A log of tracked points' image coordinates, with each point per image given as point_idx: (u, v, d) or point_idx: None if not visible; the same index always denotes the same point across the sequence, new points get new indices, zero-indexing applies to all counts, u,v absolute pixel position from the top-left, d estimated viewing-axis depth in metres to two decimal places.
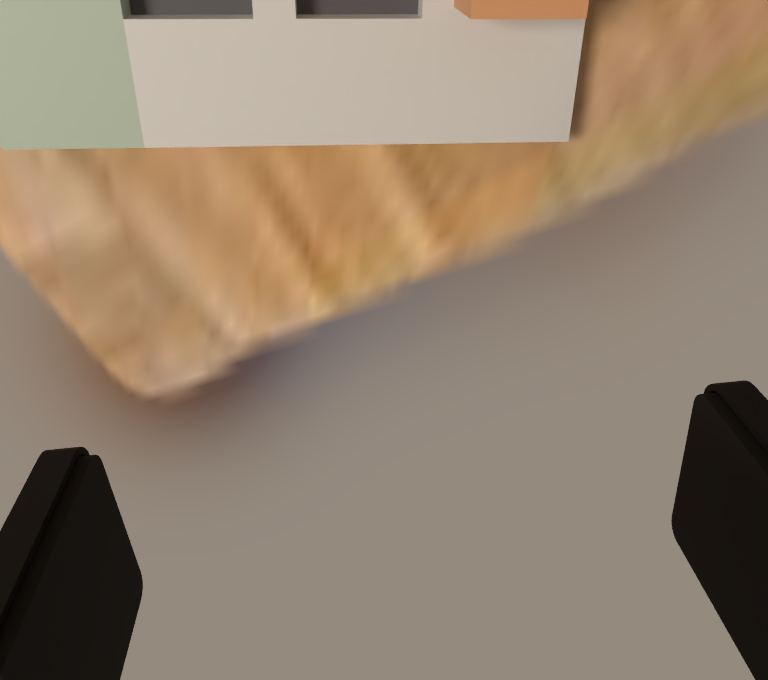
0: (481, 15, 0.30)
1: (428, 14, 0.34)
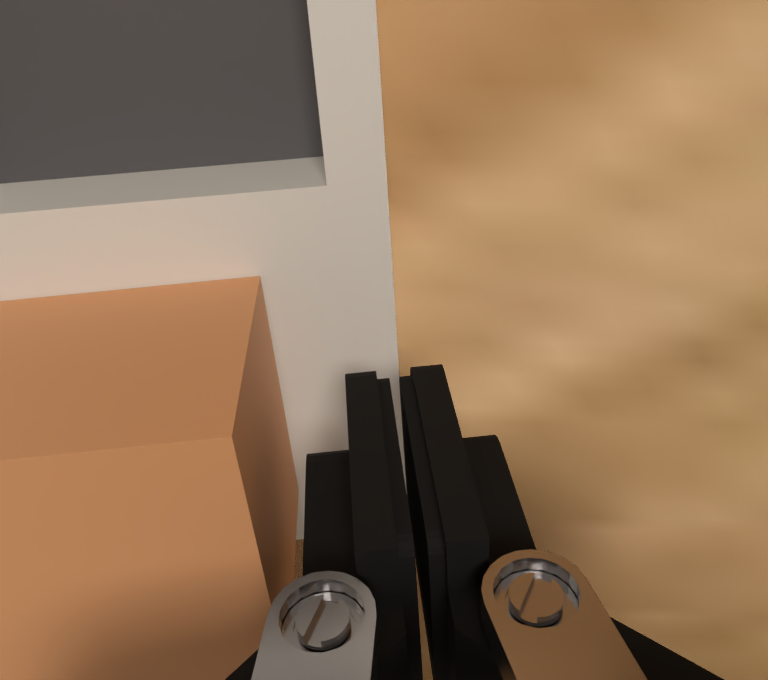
0: None
1: None
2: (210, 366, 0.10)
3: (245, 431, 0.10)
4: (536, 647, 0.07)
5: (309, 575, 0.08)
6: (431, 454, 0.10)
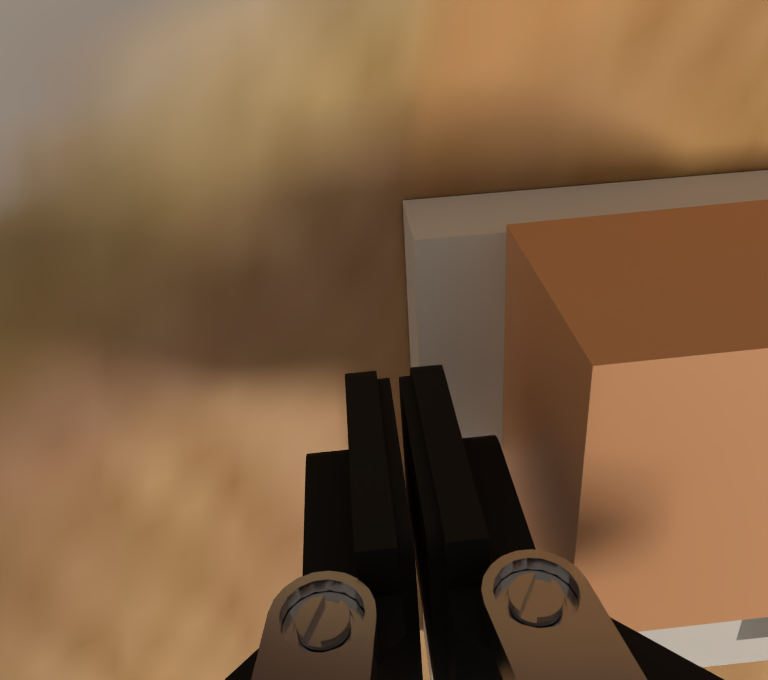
0: None
1: None
2: None
3: None
4: (536, 647, 0.07)
5: (309, 575, 0.08)
6: (431, 454, 0.10)
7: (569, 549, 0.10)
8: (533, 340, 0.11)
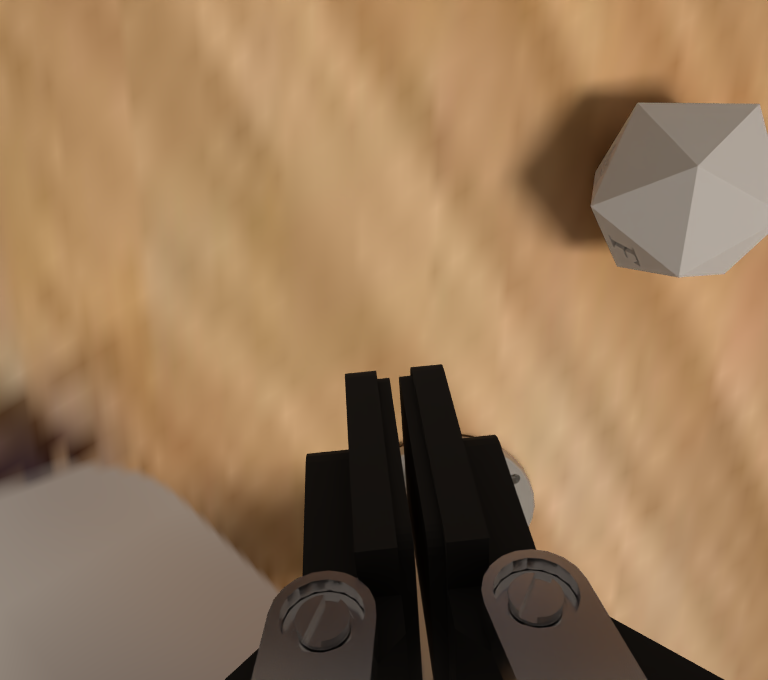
0: None
1: None
2: None
3: None
4: (536, 647, 0.07)
5: (309, 575, 0.08)
6: (431, 454, 0.10)
7: None
8: None
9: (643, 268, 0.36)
